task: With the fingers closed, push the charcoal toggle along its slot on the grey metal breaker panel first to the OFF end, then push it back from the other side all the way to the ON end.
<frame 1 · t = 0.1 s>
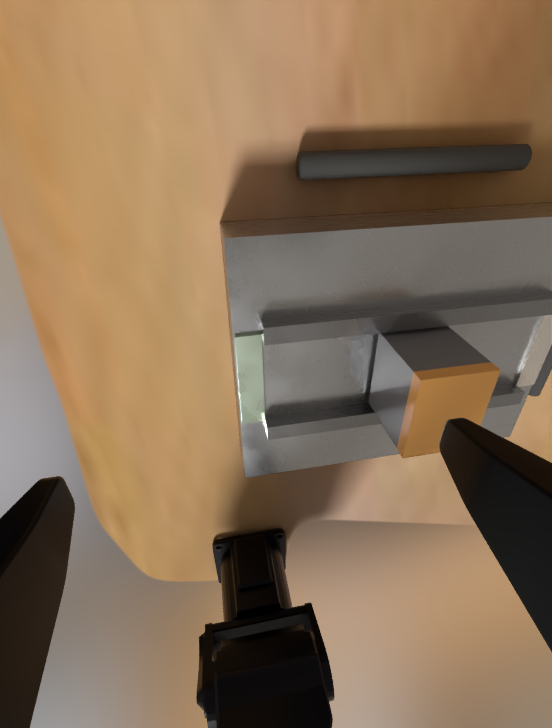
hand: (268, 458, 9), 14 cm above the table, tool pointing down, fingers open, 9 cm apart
panel: (382, 338, 26), on the table
toggle: (425, 388, 21), point 6 cm above the table, slide at 0.0 cm
cord b: (410, 160, 20), on the table
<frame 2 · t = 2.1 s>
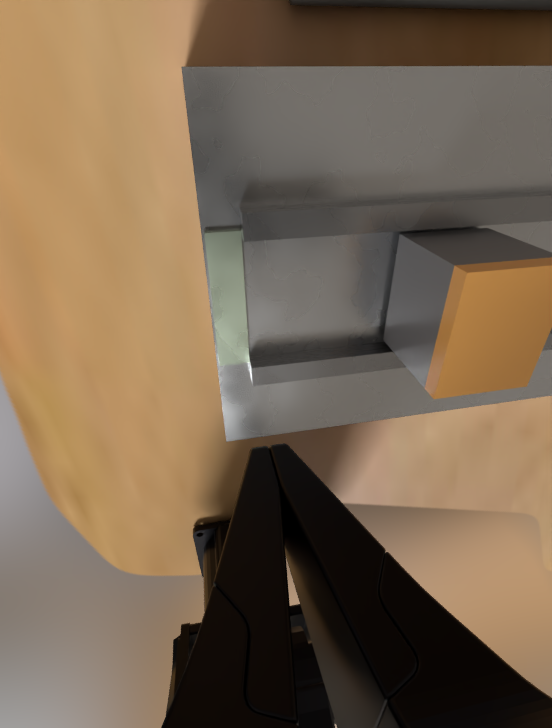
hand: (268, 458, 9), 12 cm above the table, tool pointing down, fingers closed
panel: (399, 263, 20), on the table
toggle: (462, 308, 16), point 6 cm above the table, slide at 0.0 cm
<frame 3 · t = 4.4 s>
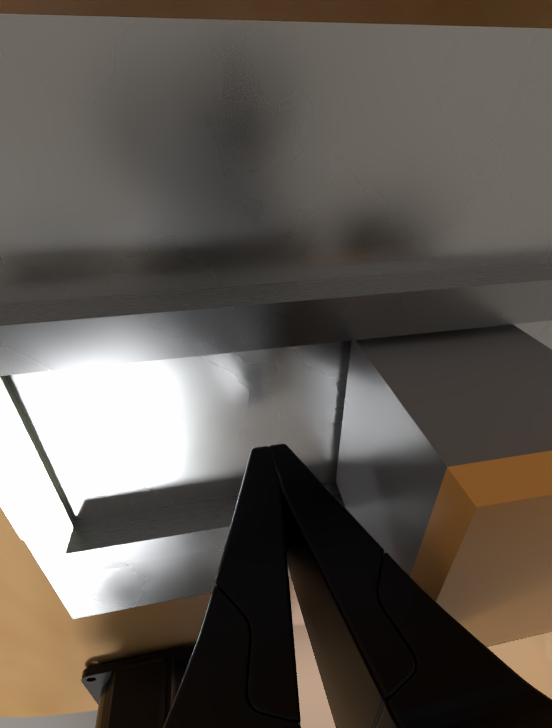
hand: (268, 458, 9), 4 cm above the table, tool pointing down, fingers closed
panel: (337, 351, 13), on the table
toggle: (462, 475, 9), point 6 cm above the table, slide at -1.1 cm, touching gripper
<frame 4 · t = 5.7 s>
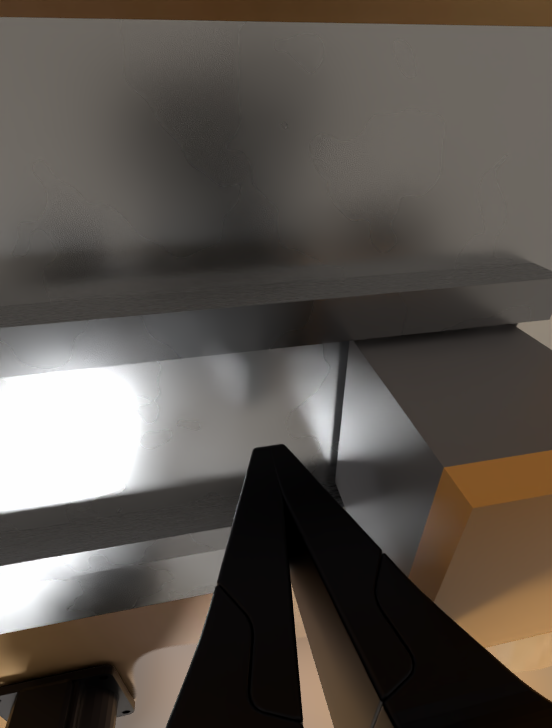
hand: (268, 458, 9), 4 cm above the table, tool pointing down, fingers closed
panel: (188, 368, 12), on the table
toggle: (461, 475, 9), point 6 cm above the table, slide at -6.0 cm, touching gripper
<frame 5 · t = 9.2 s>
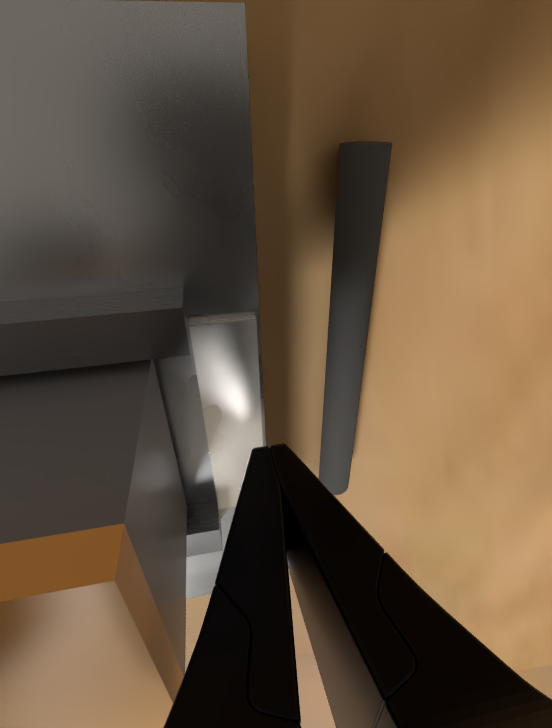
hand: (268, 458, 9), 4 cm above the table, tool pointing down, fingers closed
toggle: (57, 545, 7), point 6 cm above the table, slide at -5.7 cm, touching gripper
cord a: (339, 348, 13), on the table
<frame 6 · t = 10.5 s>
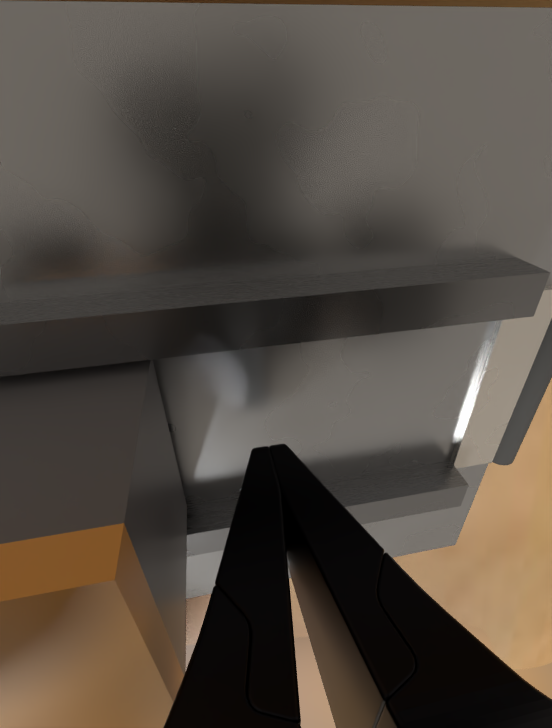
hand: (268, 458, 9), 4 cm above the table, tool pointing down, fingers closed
panel: (168, 368, 12), on the table
toggle: (57, 545, 7), point 6 cm above the table, slide at 1.8 cm, touching gripper
cord a: (536, 325, 14), on the table
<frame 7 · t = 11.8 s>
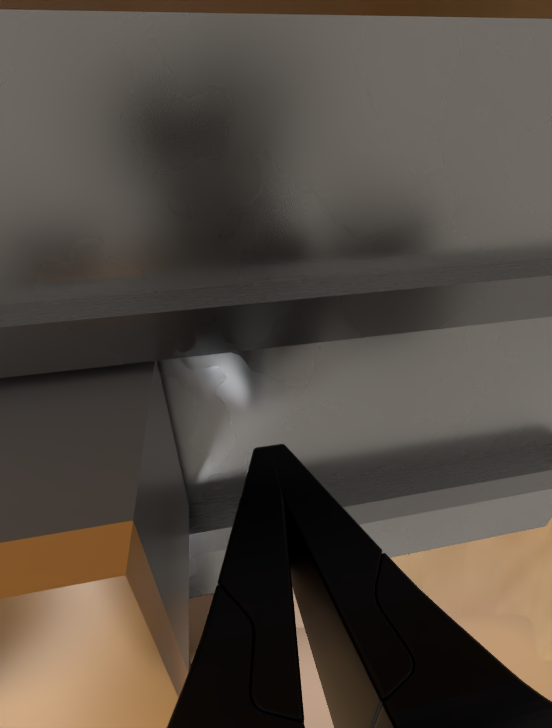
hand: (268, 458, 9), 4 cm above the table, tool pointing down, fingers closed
panel: (301, 354, 13), on the table
toggle: (63, 544, 7), point 6 cm above the table, slide at 6.0 cm, touching gripper
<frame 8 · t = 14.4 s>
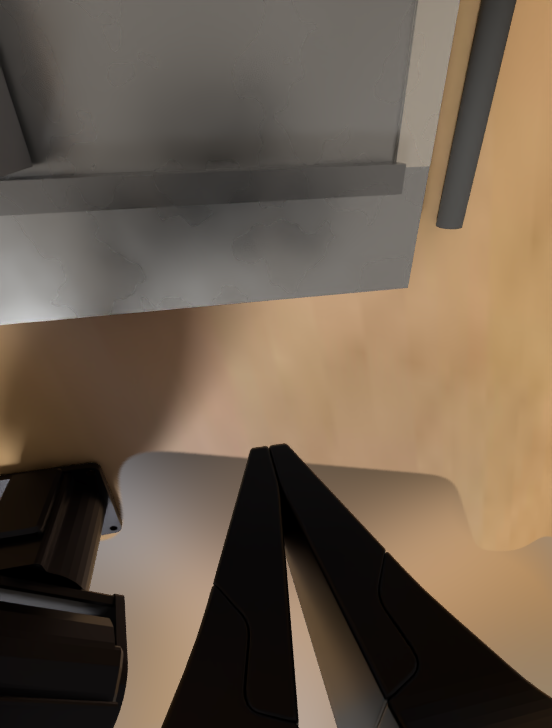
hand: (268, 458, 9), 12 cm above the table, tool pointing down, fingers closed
panel: (155, 76, 14), on the table
cord a: (473, 75, 16), on the table
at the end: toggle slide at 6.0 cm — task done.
